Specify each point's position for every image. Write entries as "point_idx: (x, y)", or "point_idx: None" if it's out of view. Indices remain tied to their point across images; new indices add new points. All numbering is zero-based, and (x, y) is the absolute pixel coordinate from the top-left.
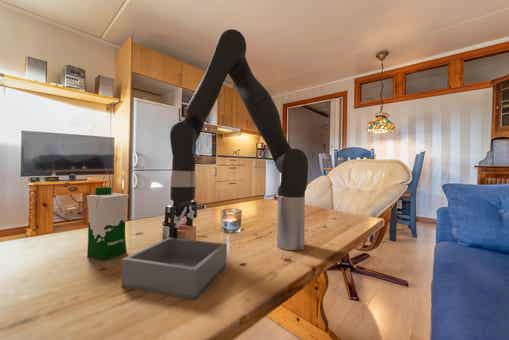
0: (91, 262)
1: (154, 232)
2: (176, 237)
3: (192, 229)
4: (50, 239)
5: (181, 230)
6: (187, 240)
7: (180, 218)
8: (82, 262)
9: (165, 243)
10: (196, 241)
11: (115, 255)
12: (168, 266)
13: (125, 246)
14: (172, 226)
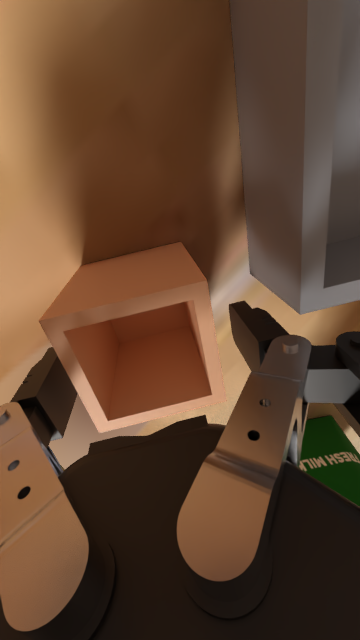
0: (345, 426)
1: None
2: (241, 304)
3: (104, 300)
4: None
5: (203, 327)
6: (323, 135)
7: (281, 382)
8: (349, 439)
9: (353, 272)
10: (333, 7)
11: None
12: None
13: None
14: (353, 333)
